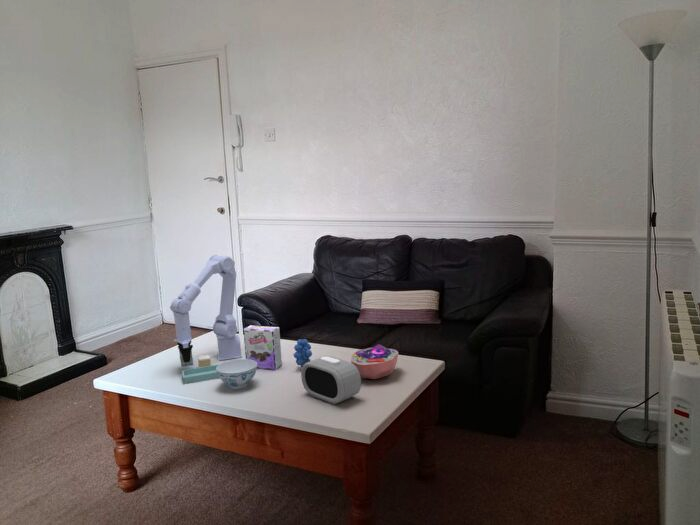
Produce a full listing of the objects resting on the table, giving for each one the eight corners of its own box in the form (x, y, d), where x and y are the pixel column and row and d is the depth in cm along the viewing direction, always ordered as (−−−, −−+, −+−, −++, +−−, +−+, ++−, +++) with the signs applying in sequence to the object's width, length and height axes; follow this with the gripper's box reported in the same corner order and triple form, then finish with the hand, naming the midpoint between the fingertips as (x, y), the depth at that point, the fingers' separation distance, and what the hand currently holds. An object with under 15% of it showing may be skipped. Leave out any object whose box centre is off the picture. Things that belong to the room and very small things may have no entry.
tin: (192, 361, 236) (190, 347, 235) (193, 365, 232) (191, 351, 230) (180, 363, 234) (178, 349, 233) (181, 367, 230) (179, 352, 229)
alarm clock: (301, 393, 203) (299, 357, 201) (321, 385, 210) (319, 350, 207) (341, 409, 188) (339, 370, 186) (362, 399, 195) (360, 362, 193)
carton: (210, 365, 239) (209, 354, 238) (211, 368, 234) (210, 358, 233) (198, 367, 237) (197, 356, 236) (199, 370, 233) (198, 359, 232)
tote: (220, 370, 232) (219, 364, 231) (223, 377, 223) (222, 371, 223) (182, 376, 227) (181, 370, 227) (184, 384, 218) (183, 377, 218)
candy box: (245, 367, 233) (242, 328, 230) (253, 362, 238) (250, 324, 236) (275, 370, 228) (272, 330, 225) (282, 365, 233) (279, 326, 231)
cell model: (340, 379, 215) (338, 350, 213) (375, 364, 229) (373, 336, 227) (375, 389, 203) (373, 359, 201) (409, 372, 218) (408, 344, 216)
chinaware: (209, 387, 213) (207, 367, 212) (241, 375, 224) (240, 356, 223) (234, 396, 204) (232, 376, 202) (267, 383, 215) (265, 363, 213)
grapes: (305, 373, 223) (303, 343, 221) (291, 371, 226) (288, 342, 224) (320, 363, 233) (318, 334, 231) (305, 361, 236) (303, 333, 234)
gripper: (171, 324, 236) (175, 356, 238) (173, 334, 222) (177, 367, 225) (189, 322, 238) (192, 353, 240) (192, 331, 225) (195, 364, 227)
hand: (186, 360), depth 233 cm, fingers closed on tin, 5 cm apart
